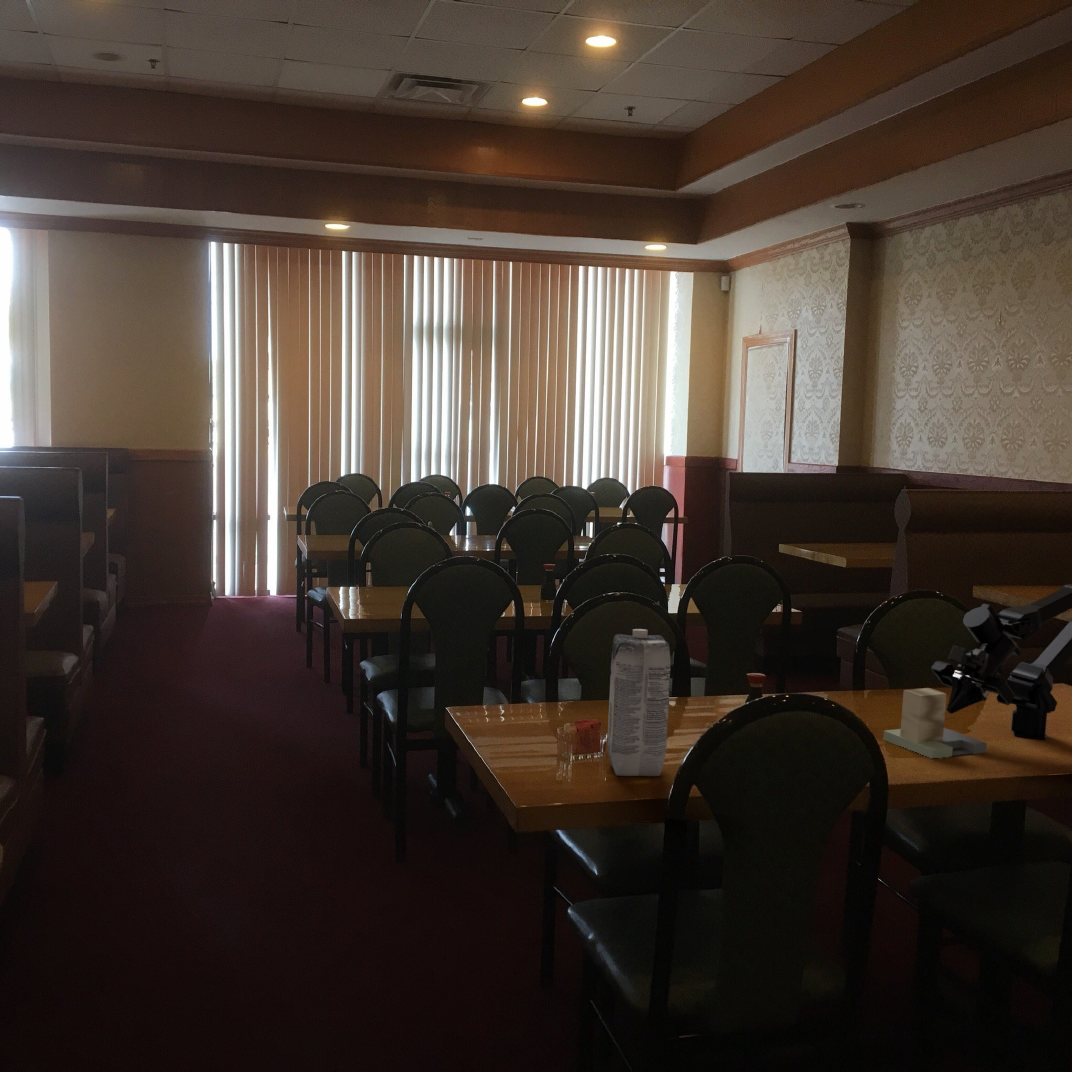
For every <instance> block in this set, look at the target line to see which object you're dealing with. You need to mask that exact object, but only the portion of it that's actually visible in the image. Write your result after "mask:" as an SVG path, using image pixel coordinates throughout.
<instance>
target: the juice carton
mask: <svg viewBox="0 0 1072 1072" xmlns="http://www.w3.org/2000/svg"><path fill="white" fill-rule="evenodd" d="M671 650H672V649H671V645H670V644H669V642H668V641H667V640H666V639H665V638H664V637H663V636H662V635H659V634H656V635H655V634H653V635H648V629H643V628H635V629H632V635H630V634H621V633H619V634H615V635H614V637H613V641H612V652H611V659H610V661H611V663H610V679H609V681H610V682H609V683H610V684H609V701H608V704H609V705H608V722H607V753H608V759H609V761H610V765H611V767H612V769H613V771H614V773H615V776H617V777H618V776H619V777H660V776H661V774H662V771H663V768H664V765H665V764H664V763H665V759H666V753H667V739H668V738H667V737H668V723H669V722H668V720H669V719H668V718H669V705H670V704H669V703H670V700H669V699H670V681H671Z"/></svg>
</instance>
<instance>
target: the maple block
mask: <svg viewBox="0 0 1072 1072" xmlns="http://www.w3.org/2000/svg"><path fill="white" fill-rule="evenodd" d="M902 693H903V695H902V707H901V719H900V720H901V721H900V729H901V731H900V737H903V738H905V739H908V740H910V741H913V742H915V743H924V742H932V741H941V740H943V732H944V728H945V720H946V719H945V717H946V709H947V707H946V706H947V705H946V704H947V693H945V692H942V691H940V690H937V689H934V688H930V687H924V688H913V689H912V688H911V689H903V692H902Z"/></svg>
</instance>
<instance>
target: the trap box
mask: <svg viewBox="0 0 1072 1072" xmlns="http://www.w3.org/2000/svg"><path fill="white" fill-rule="evenodd" d="M900 731H901V728H897V729H887V730H883V737H882V738H883V741H885V742H888V743H890V744H893V745H895V746H898V747H900V746H901V748H903V747H904V748H903V749H905V748H907V749H908V751H910V750H911V751H910V752H912V751H914V752H913V753H915V752H917V753H919V754H918V755H920V754H921V755H920V756H922V755H924V756H923V757H925V756H927V757H930V758H939V759H943V758H942V757H946V758H953V757H952V756H954V757H961V756H960V755H962V756H967V755H966V754H970V755H977V754H984V753H986V752H987V747H988V746H987V745H988V743H987V742H985V741H982V740H979V739H976V738H974V737H971V736H968V735H966V734H963V733H961V732H957V731H955V730H952V729H949V728H946V727H944V732H943V740H941V741H932V742H924V743H915V742H913V741H910V740H908V739H905V738H903V737H900ZM907 749H906V750H907ZM917 753H916V754H917ZM950 756H951V757H950ZM927 757H926V758H927ZM930 758H929V759H930Z"/></svg>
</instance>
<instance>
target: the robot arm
mask: <svg viewBox="0 0 1072 1072" xmlns="http://www.w3.org/2000/svg"><path fill="white" fill-rule="evenodd" d="M1069 610H1072V583H1067V584H1064V585H1063V586H1062V587H1061V588H1059V589H1057V590H1056V591H1055V590H1054V591H1053V592H1051V593H1050V594H1047V595H1046V596H1043V597H1042V598H1039V599H1038V600H1036V601H1034V602H1032V603H1029V604H1027V605H1020V606H1019V605H1018V606H1017V605H1016V606H1015V605H1014V606H1012V607H1006V608H1005V609H1002V610H1001V611H1000V612H998V614H996V612H995V610H994V608H993V607H992V605H991V604H986V603H982V604H981V606H979V607H976V608H973V609H971V610H970V611H968V612H966V613H965V614H964V617H963V619H962V622H963V624H964V626H965V627H966V628H967V631H969V633H970V634H971V635H972V637H973V638H974V639H975V641H976V642H977V643H979V644H981V646H980V647H979V648H975V649H972V650H970V649H968V648H964V647H960V646H957V645H952V648H951V650H950V653H949V654H948V657H947V660H949V661H952V662H953V663H956V664H958V665H957V666H956V667H957V668H958V669H959V670H957V669H956V668H955V667H954V665H953V664H951V663H948V662H945V661H941V660H940V661H939V660H938V661H937V660H936V661H935V662H934V663H933V665H932V666H931V667H930V669H931V671H932V673H933V674H934V676H935V677H936V678H937V679H938V680H939V681H940V683H941V684H942V685H944V686H946V687H948V688H951V693H950V696H949V700H948V704H947V705H946V706H947V707H946V712H947V713H948V714H952V715H953V714H955V713H957V712H959V711H960V710H963V709H965V708H968V707H969V706H973V705H975V704H977V703H980V702H986V701H987V698H986V697H987V695H988V694H990V693H993V694H997V696H996V700H997V703H999V704H1002V705H1006V706H1010V705H1011V704H1012V705H1015V708H1014V709H1015V710H1014V709H1013V710H1012V712H1011V719H1010V720H1011V723H1010V730H1011V732H1012V733H1013V736H1016V737H1022V738H1031V739H1032V738H1033V739H1038V740H1040V739H1041V740H1047V736H1046V735H1047V734H1046V731H1047V728H1046V727H1047V718H1048V714H1051V713H1052V712H1053V713H1054V712H1055V711H1056V708H1057V705H1058V701H1057V700H1056V699H1055V697H1054V696H1053V694H1052V691H1053V685H1054V677H1055V676H1056V675H1057V674H1058V673H1059V671H1060V670H1061V669H1062V668H1063V667H1064V666H1065V664H1066V663H1067V662H1068V661H1069V660H1070V659H1071V657H1072V618H1070V619H1071V620H1070V621H1069V622H1068V623H1067V625H1065V627H1064V628H1063V629H1062V630H1061V631H1060V632H1059V633H1058V635H1057V636H1056V637H1055V638H1054V640H1052V642H1051V643H1050V644H1049V645H1048V646H1047V647H1046V648H1045V650H1044V651H1043V652H1042V653H1040V655H1039V656H1038V658H1036V660H1034V662H1032V663H1026V662H1023V661H1021V662H1019V663H1018V664H1017V665H1016V667H1015V668H1014V669H1013V670H1012V671H1011V672H1009V675H1010V676H1009V677H1008V678H1007V680H1005V679H1003V678H1001V677H1000V678H999V677H996V675H999V676H1001V675H1002V674H1003V672H1004V670H1002V666H1004V664H1005V663H1006V661H1007V660H1008V659H1009V657H1010V656H1011V655H1012V656H1017V657H1019V656H1021V650H1020V643H1019V642H1015V641H1014V640H1013V639H1012V638H1015V639H1016V638H1017V639H1021V640H1025V641H1026V640H1029V639H1030V638H1032V637H1034V636H1035V635H1036V634H1037V633H1038V632H1040V631H1041V628H1042V626H1043V624H1044V623H1046V622H1048V621H1049V620H1052V619H1054V618H1055V617H1057V616H1059V615H1061V614H1063V613H1066V612H1067V611H1069Z"/></svg>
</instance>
